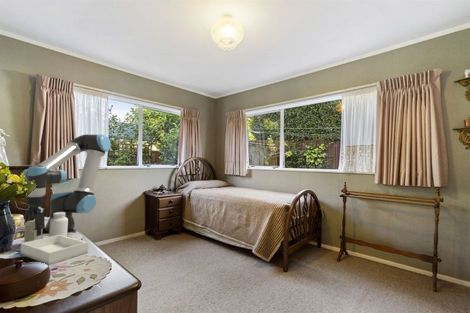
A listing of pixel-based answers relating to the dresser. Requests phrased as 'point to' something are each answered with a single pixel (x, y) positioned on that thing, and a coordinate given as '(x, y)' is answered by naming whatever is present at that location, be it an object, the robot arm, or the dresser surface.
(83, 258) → the dresser surface
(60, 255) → the tray
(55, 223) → the pill bottle
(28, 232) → the skincare box
